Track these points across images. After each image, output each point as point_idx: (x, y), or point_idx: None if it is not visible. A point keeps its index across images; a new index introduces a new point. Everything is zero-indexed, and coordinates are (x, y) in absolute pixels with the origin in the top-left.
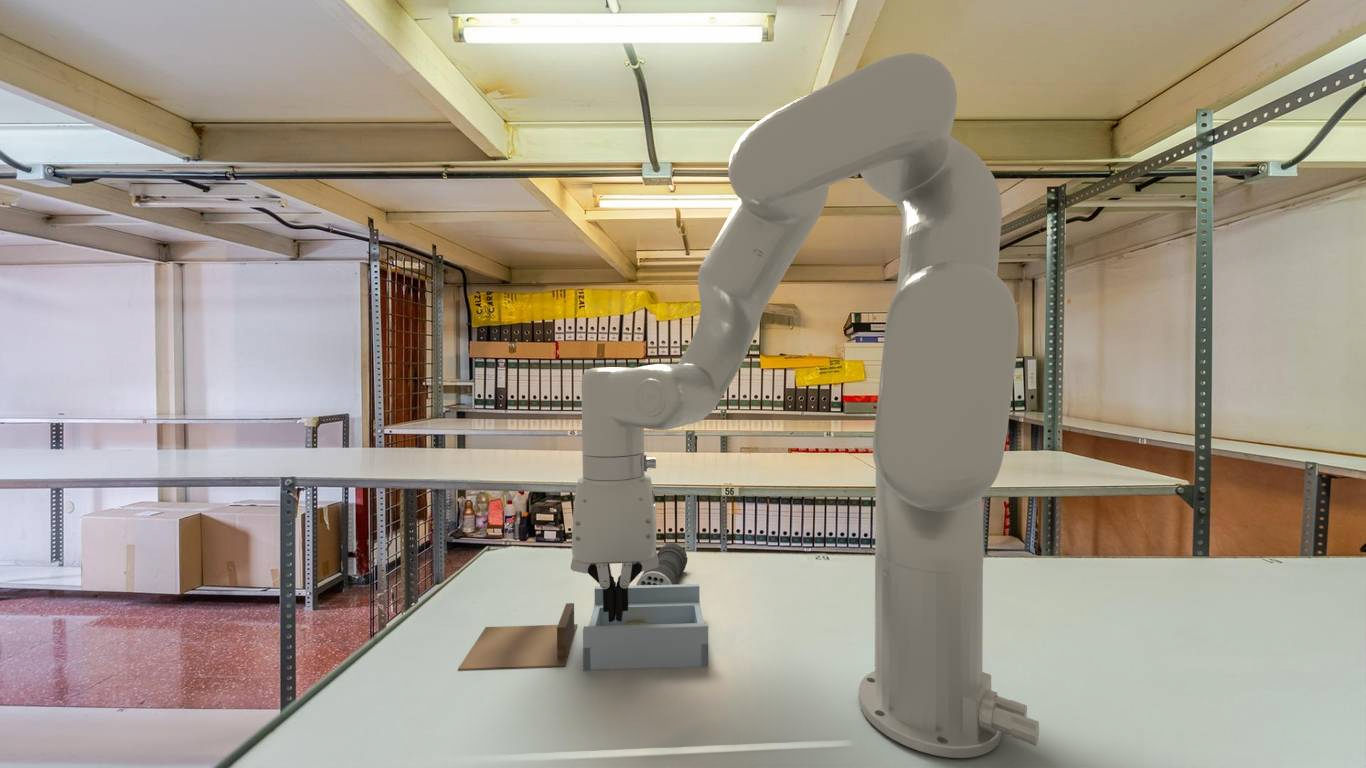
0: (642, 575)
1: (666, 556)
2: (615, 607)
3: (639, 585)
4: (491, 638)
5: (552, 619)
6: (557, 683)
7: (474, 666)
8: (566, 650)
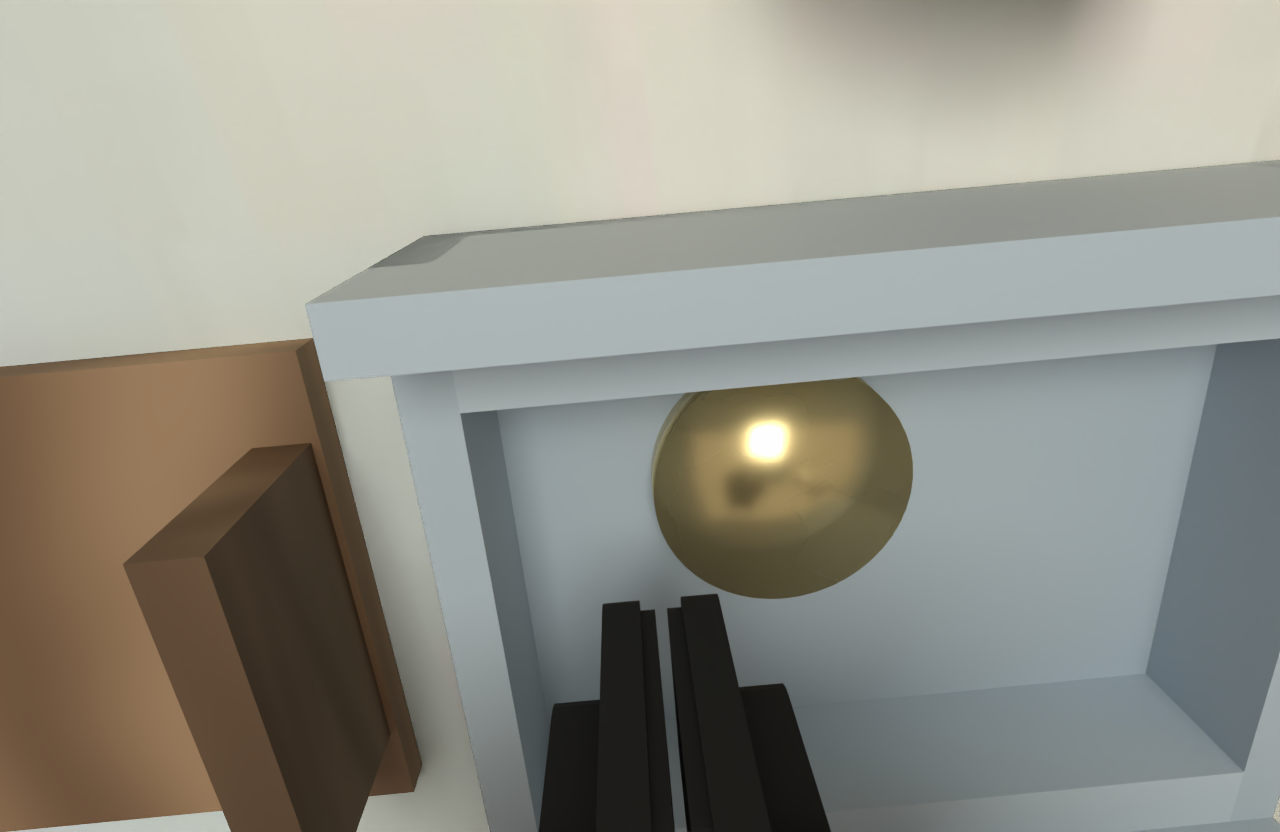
0: None
1: None
2: (664, 716)
3: (908, 250)
4: None
5: (11, 161)
6: None
7: None
8: (377, 740)
